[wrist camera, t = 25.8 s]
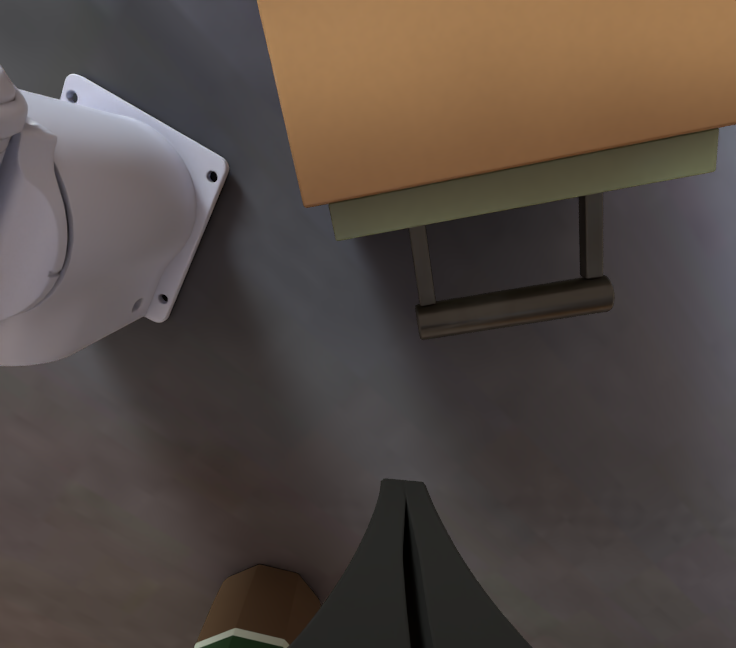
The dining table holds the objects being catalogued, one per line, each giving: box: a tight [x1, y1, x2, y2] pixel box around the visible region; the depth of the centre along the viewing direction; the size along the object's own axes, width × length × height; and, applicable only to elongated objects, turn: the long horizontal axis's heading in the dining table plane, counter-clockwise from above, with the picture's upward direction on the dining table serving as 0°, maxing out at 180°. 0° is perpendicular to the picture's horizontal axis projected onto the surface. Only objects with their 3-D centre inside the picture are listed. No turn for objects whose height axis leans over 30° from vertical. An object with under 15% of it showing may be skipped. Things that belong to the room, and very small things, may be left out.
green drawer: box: [329, 128, 719, 340], centre depth 14 cm, size 18×11×7 cm, turn 10°
